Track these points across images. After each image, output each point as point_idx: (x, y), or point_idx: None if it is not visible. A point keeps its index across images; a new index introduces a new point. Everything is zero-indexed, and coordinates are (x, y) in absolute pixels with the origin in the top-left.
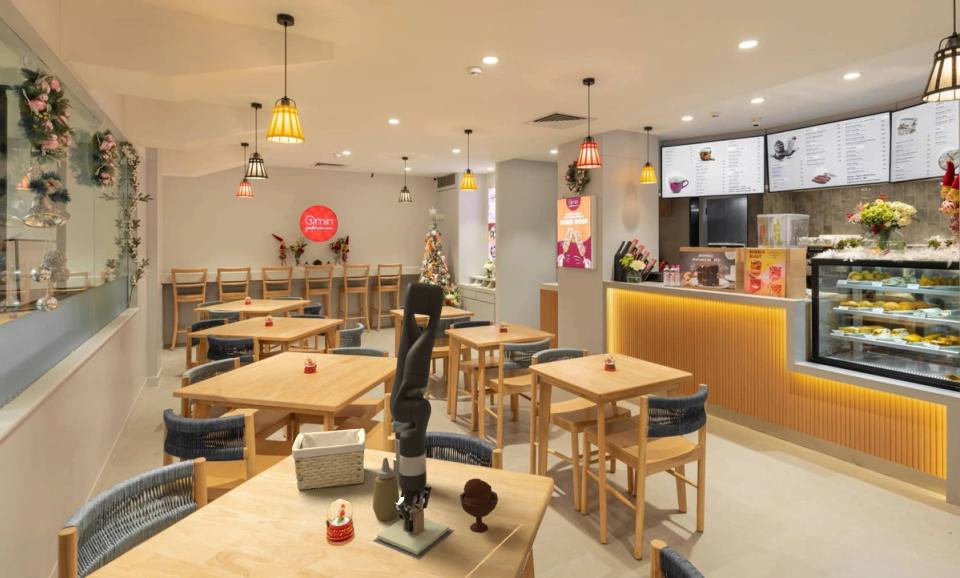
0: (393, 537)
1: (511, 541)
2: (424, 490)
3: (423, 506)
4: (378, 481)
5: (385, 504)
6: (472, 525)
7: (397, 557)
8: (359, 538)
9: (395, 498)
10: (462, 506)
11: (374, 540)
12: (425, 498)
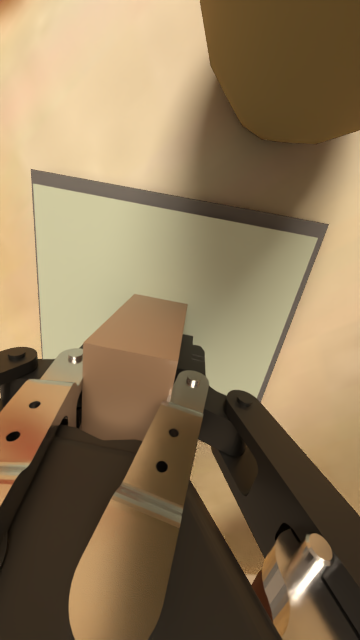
0: (62, 281)
1: (243, 555)
2: (280, 620)
3: (213, 442)
4: None
5: (226, 11)
6: None
7: (22, 334)
8: (19, 60)
9: (342, 75)
10: (267, 608)
11: (38, 176)
12: (245, 508)
